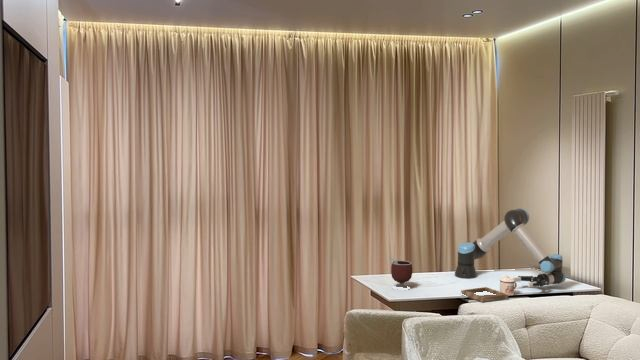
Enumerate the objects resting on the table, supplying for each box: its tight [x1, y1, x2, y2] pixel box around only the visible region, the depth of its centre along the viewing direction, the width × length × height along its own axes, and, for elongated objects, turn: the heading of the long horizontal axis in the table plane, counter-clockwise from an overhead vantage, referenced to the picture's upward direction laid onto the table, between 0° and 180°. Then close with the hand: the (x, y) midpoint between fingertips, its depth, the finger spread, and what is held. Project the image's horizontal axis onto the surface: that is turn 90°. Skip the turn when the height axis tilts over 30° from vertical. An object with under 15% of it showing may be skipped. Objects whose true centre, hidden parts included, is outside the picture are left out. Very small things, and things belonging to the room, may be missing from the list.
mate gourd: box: [390, 256, 413, 288], centre depth 396 cm, size 16×14×20 cm
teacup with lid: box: [499, 275, 518, 297], centre depth 384 cm, size 12×9×12 cm
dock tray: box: [460, 286, 509, 304], centre depth 376 cm, size 20×20×3 cm
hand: (520, 282), depth 388 cm, fingers open, 13 cm apart
